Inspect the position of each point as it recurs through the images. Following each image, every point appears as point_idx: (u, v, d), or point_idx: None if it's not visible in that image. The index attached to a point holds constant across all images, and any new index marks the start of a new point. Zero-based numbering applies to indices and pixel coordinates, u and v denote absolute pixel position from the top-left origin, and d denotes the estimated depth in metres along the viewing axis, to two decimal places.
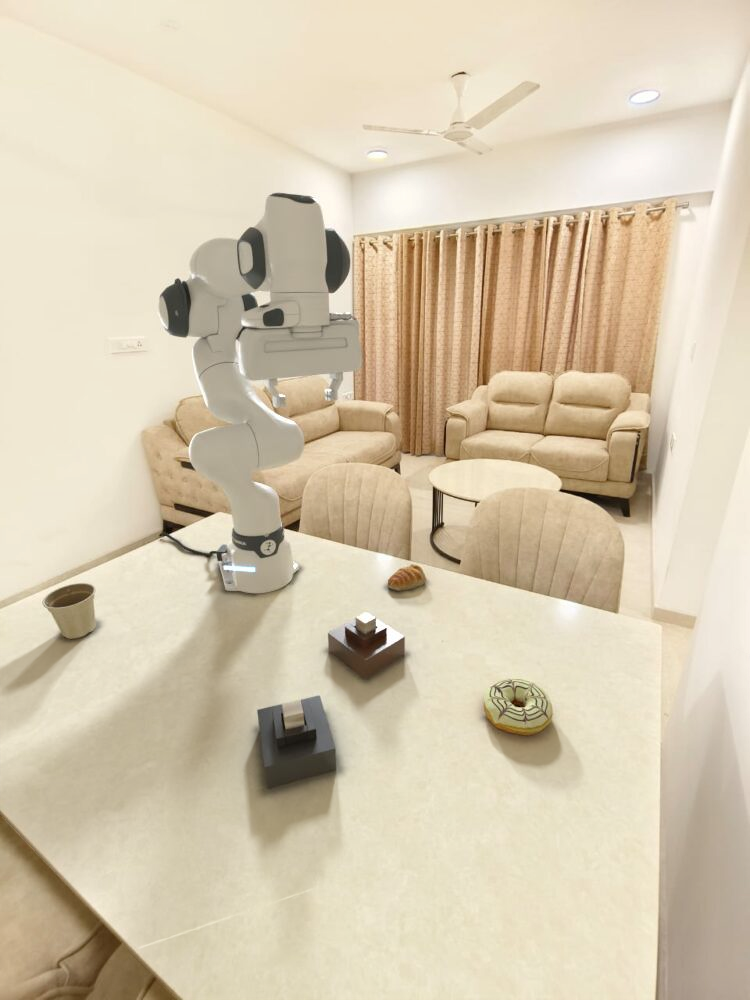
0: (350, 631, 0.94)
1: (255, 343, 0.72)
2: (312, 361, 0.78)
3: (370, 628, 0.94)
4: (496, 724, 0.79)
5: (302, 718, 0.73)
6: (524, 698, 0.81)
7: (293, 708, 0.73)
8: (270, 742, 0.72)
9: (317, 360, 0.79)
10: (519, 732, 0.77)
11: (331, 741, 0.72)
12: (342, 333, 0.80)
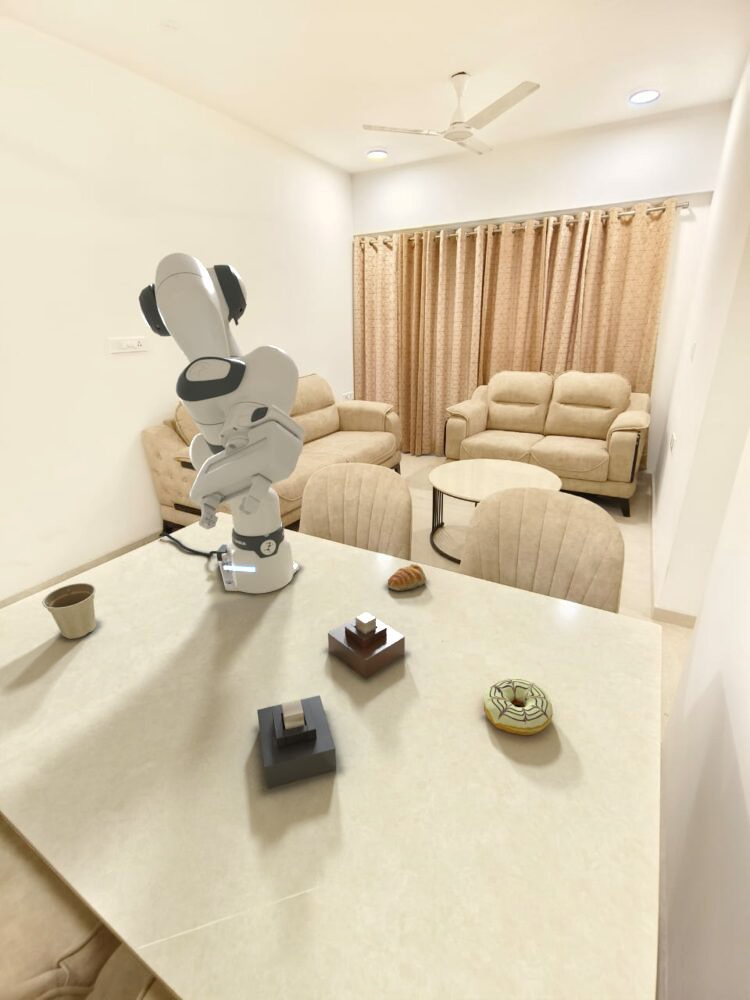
0: (350, 631, 0.94)
1: None
2: None
3: (370, 628, 0.94)
4: (496, 724, 0.79)
5: (302, 718, 0.73)
6: (524, 698, 0.81)
7: (293, 708, 0.73)
8: (270, 742, 0.72)
9: None
10: (519, 732, 0.77)
11: (331, 741, 0.72)
12: None
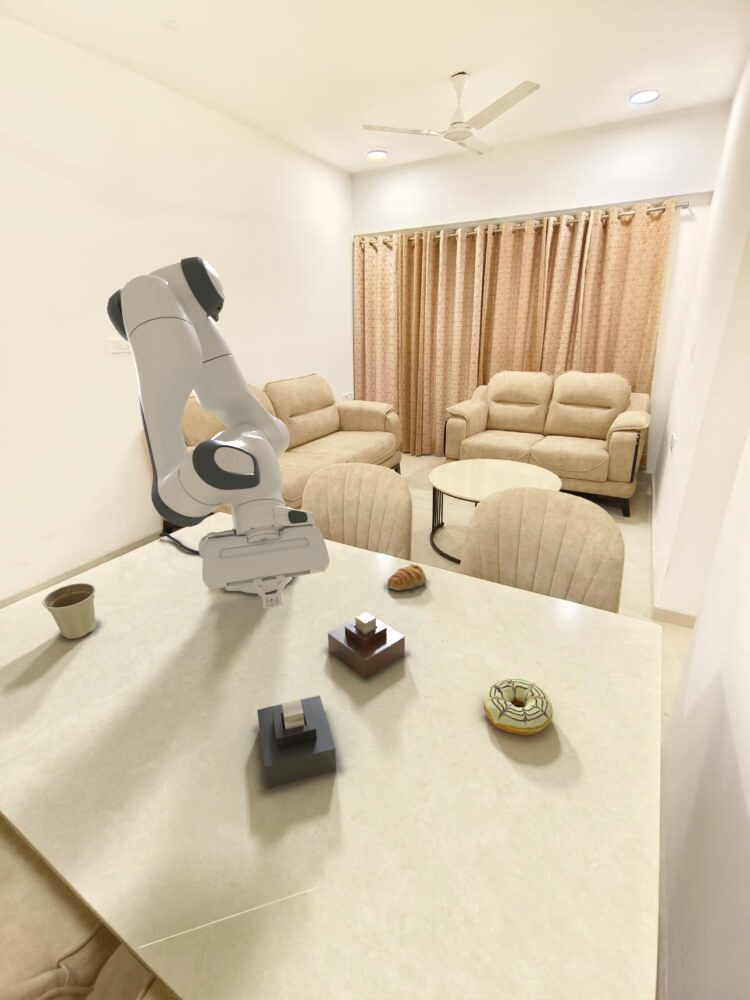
0: (350, 631, 0.94)
1: None
2: None
3: (370, 628, 0.94)
4: (496, 724, 0.79)
5: (302, 718, 0.73)
6: (524, 698, 0.81)
7: (293, 708, 0.73)
8: (270, 742, 0.72)
9: None
10: (519, 732, 0.77)
11: (331, 741, 0.72)
12: None
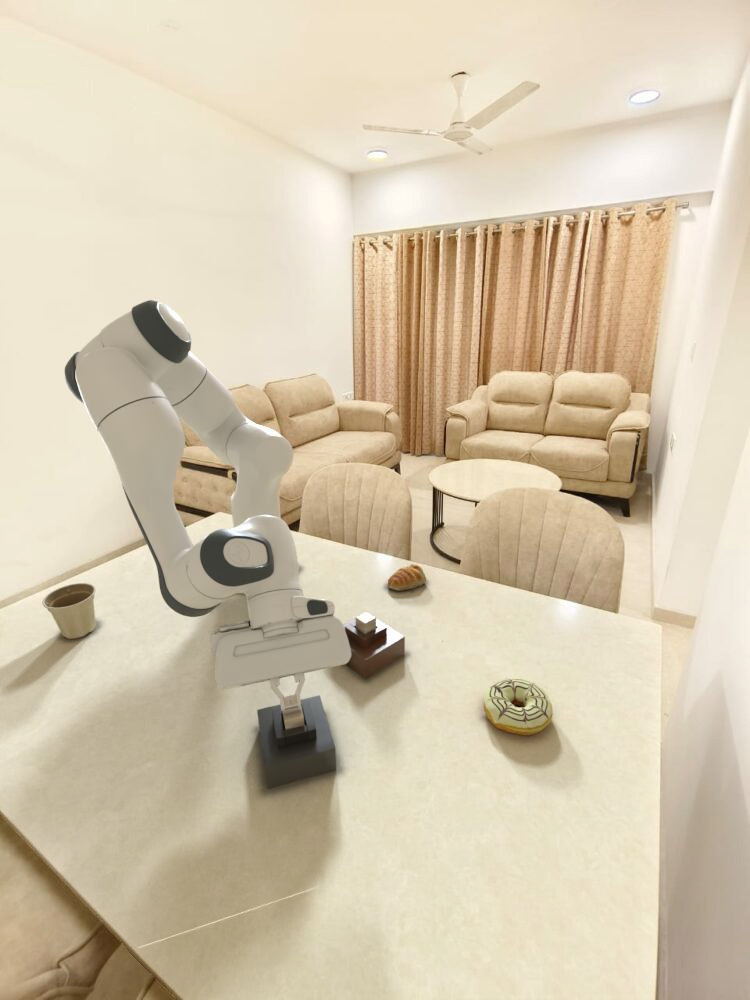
0: (350, 631, 0.94)
1: None
2: None
3: (370, 628, 0.94)
4: (496, 724, 0.79)
5: (302, 722, 0.73)
6: (524, 698, 0.81)
7: (293, 712, 0.73)
8: (270, 742, 0.72)
9: None
10: (519, 732, 0.77)
11: (331, 741, 0.72)
12: None
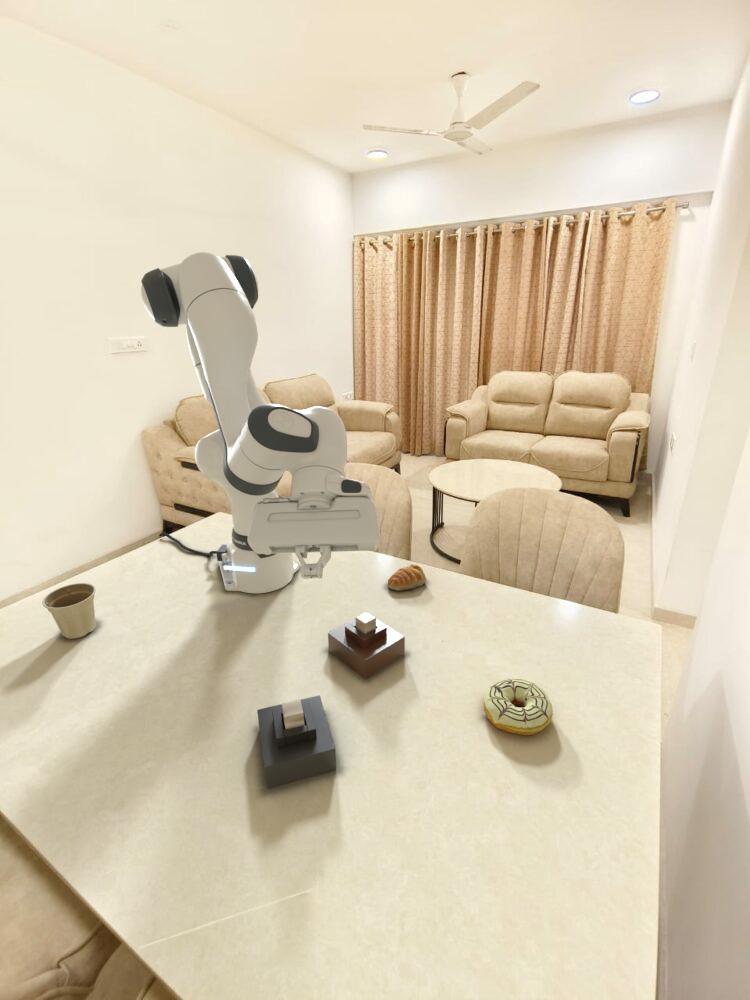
0: (350, 631, 0.94)
1: None
2: None
3: (370, 628, 0.94)
4: (496, 724, 0.79)
5: (302, 718, 0.73)
6: (524, 698, 0.81)
7: (293, 708, 0.73)
8: (270, 742, 0.72)
9: None
10: (519, 732, 0.77)
11: (331, 741, 0.72)
12: None
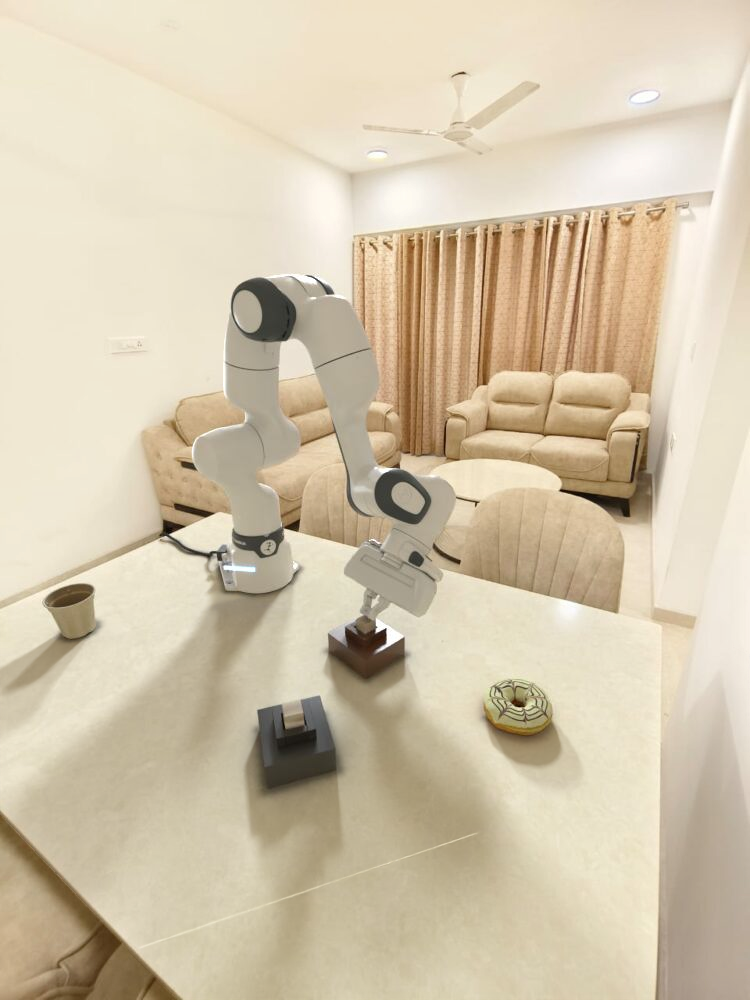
0: (350, 631, 0.94)
1: None
2: None
3: (370, 630, 0.94)
4: (496, 724, 0.79)
5: (302, 718, 0.73)
6: (524, 698, 0.81)
7: (293, 708, 0.73)
8: (270, 742, 0.72)
9: None
10: (519, 732, 0.77)
11: (331, 741, 0.72)
12: None
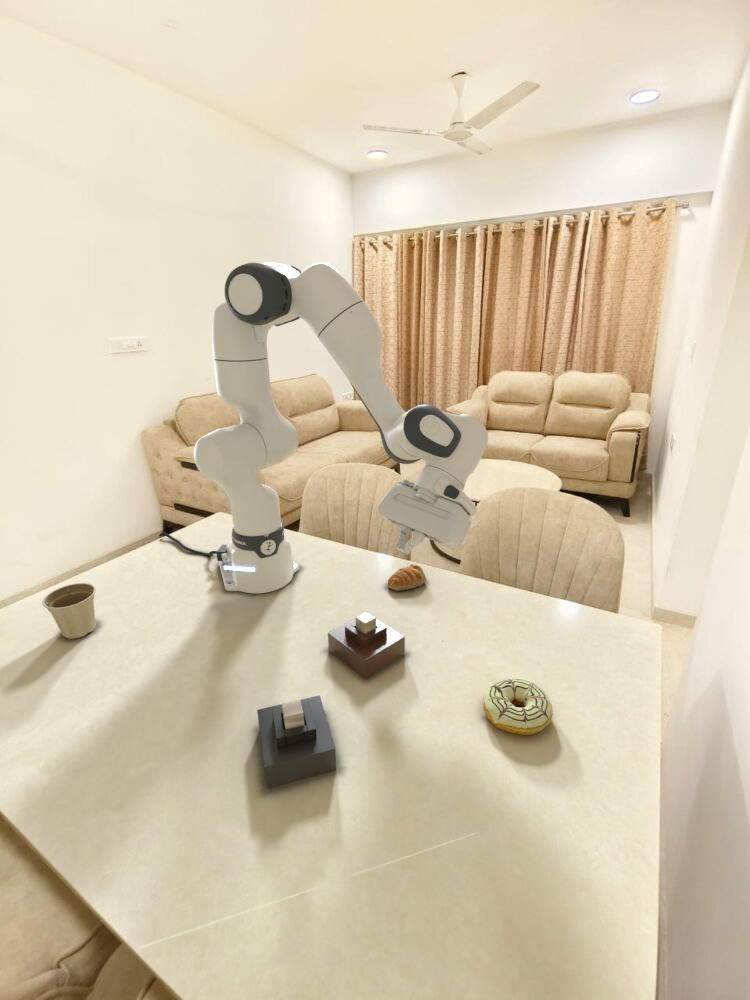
0: (350, 631, 0.94)
1: None
2: None
3: (370, 628, 0.94)
4: (496, 724, 0.79)
5: (302, 718, 0.73)
6: (524, 698, 0.81)
7: (293, 708, 0.73)
8: (270, 742, 0.72)
9: None
10: (519, 732, 0.77)
11: (331, 741, 0.72)
12: None
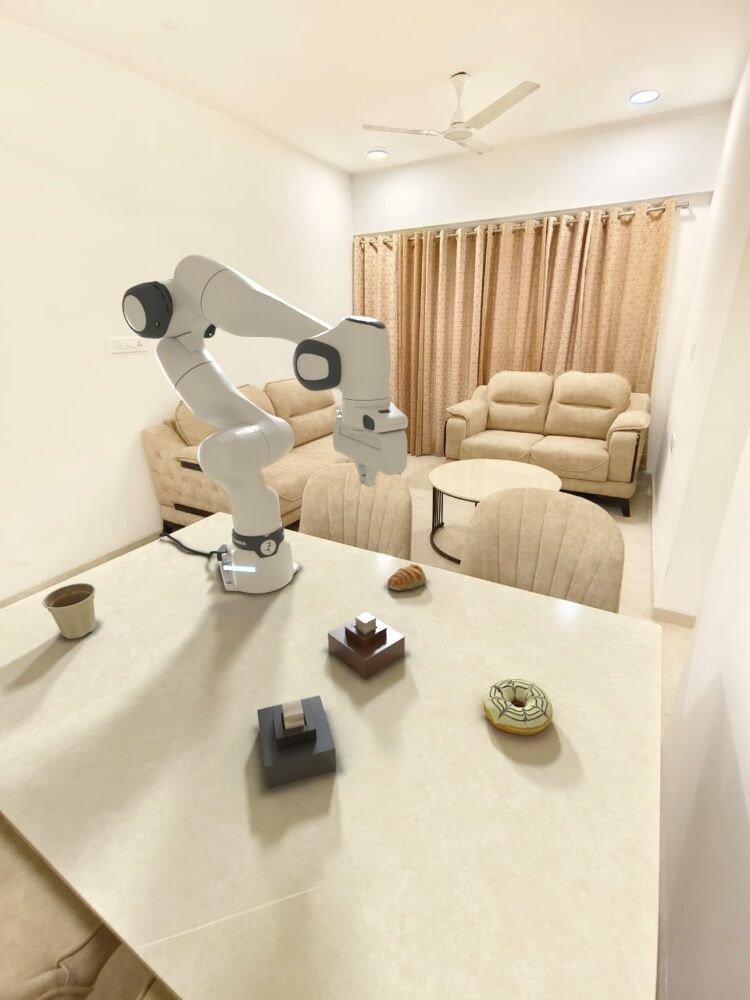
0: (350, 631, 0.94)
1: None
2: None
3: (370, 628, 0.94)
4: (496, 724, 0.79)
5: (302, 718, 0.73)
6: (524, 698, 0.81)
7: (293, 708, 0.73)
8: (270, 742, 0.72)
9: None
10: (519, 732, 0.77)
11: (331, 741, 0.72)
12: None
